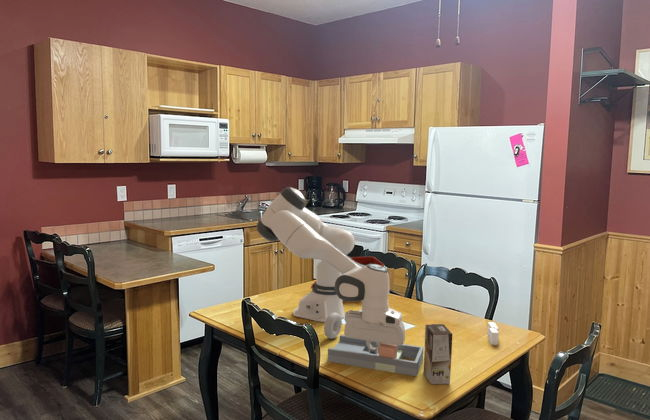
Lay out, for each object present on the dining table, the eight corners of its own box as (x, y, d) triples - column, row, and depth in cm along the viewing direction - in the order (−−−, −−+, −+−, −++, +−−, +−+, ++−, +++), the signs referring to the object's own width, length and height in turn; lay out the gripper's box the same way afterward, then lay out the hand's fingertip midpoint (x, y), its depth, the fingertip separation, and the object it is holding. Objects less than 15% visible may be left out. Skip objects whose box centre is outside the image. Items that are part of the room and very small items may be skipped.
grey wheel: (329, 343, 184) (330, 317, 182) (321, 341, 186) (322, 315, 184) (343, 335, 192) (343, 310, 191) (335, 333, 194) (336, 308, 193)
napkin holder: (485, 332, 200) (486, 318, 199) (513, 339, 192) (514, 325, 191) (468, 342, 189) (468, 327, 188) (496, 350, 181) (497, 335, 181)
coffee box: (451, 384, 153) (453, 334, 151) (430, 384, 153) (433, 334, 151) (441, 371, 162) (443, 323, 160) (422, 371, 162) (424, 323, 160)
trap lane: (327, 361, 168) (327, 349, 167) (340, 346, 181) (340, 334, 181) (416, 376, 158) (417, 363, 158) (423, 359, 171) (423, 346, 171)
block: (378, 360, 163) (379, 346, 162) (382, 355, 168) (382, 340, 167) (393, 363, 161) (394, 349, 161) (396, 357, 166) (397, 343, 166)
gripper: (342, 312, 165) (341, 352, 167) (403, 320, 158) (401, 362, 160) (347, 306, 171) (346, 345, 173) (406, 314, 164) (405, 354, 166)
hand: (373, 353), depth 166 cm, fingers closed
